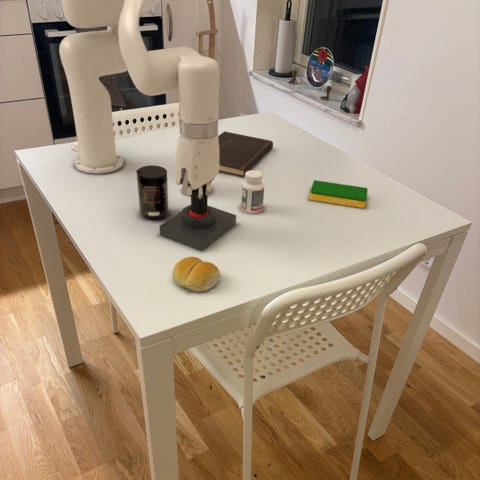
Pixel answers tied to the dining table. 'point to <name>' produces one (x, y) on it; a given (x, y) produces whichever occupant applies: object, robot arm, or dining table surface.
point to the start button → (198, 214)
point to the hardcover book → (240, 152)
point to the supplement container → (153, 192)
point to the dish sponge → (339, 194)
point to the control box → (197, 227)
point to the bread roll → (195, 274)
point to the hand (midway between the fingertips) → (199, 212)
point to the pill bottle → (252, 192)
